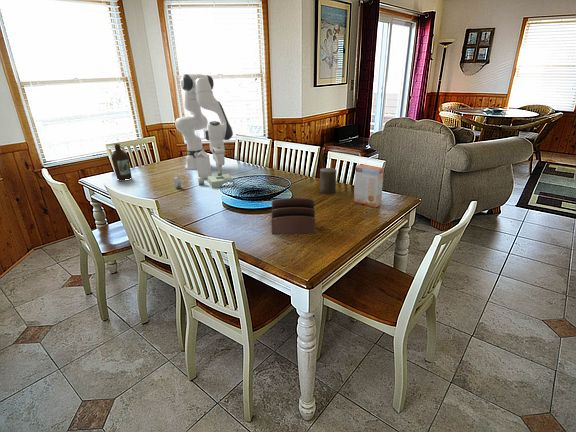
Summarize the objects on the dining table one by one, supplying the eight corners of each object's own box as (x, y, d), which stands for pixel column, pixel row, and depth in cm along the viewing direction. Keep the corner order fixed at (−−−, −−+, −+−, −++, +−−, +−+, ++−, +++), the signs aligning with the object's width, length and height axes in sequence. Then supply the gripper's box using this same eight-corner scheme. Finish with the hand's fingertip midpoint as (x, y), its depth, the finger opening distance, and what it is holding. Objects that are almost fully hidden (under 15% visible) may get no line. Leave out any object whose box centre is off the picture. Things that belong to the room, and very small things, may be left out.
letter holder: (272, 225, 164) (271, 197, 158) (314, 224, 163) (314, 197, 158) (271, 234, 155) (270, 205, 149) (315, 233, 154) (315, 204, 149)
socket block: (208, 182, 230) (207, 176, 228) (228, 179, 234) (228, 173, 233) (212, 188, 218) (211, 182, 216) (233, 185, 222) (233, 179, 221)
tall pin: (216, 174, 225) (215, 160, 221) (222, 174, 226) (220, 159, 222) (217, 176, 222) (216, 161, 218) (223, 175, 223) (221, 160, 219)
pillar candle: (334, 194, 201) (335, 170, 195) (318, 193, 203) (319, 169, 197) (336, 189, 210) (337, 165, 204) (320, 188, 212) (320, 165, 206)
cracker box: (381, 205, 184) (384, 167, 176) (375, 208, 180) (378, 170, 172) (359, 199, 193) (361, 163, 185) (353, 202, 189) (355, 165, 181)
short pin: (198, 184, 226) (197, 177, 224) (204, 183, 227) (203, 176, 225) (199, 185, 222) (198, 178, 221) (205, 185, 224) (204, 177, 222)
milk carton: (211, 175, 244) (208, 149, 236) (208, 178, 237) (205, 151, 230) (201, 175, 244) (198, 149, 237) (198, 178, 238) (195, 151, 230)
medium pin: (175, 187, 221) (173, 177, 218) (180, 186, 222) (179, 176, 219) (175, 189, 217) (173, 178, 215) (181, 188, 219) (179, 177, 216)
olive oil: (114, 179, 240) (106, 144, 231) (129, 176, 247) (122, 141, 237) (119, 182, 233) (111, 146, 223) (135, 179, 240) (127, 143, 230)
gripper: (209, 145, 225) (211, 166, 230) (215, 151, 207) (217, 173, 213) (218, 144, 227) (220, 164, 232) (225, 150, 209) (227, 172, 215)
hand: (219, 169), depth 222 cm, fingers closed on tall pin, 4 cm apart
